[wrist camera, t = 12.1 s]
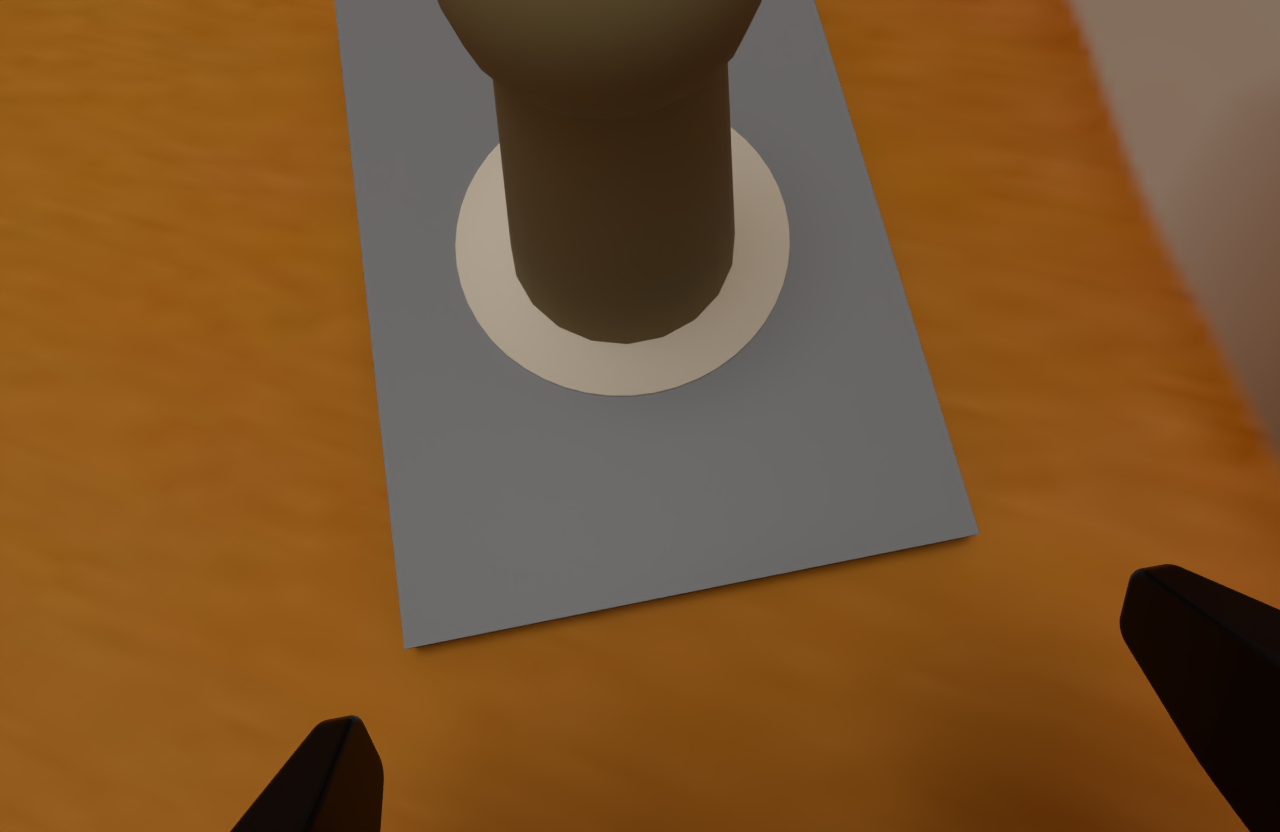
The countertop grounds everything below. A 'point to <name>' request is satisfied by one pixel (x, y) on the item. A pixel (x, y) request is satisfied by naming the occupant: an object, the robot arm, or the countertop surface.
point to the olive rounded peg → (613, 153)
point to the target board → (632, 357)
